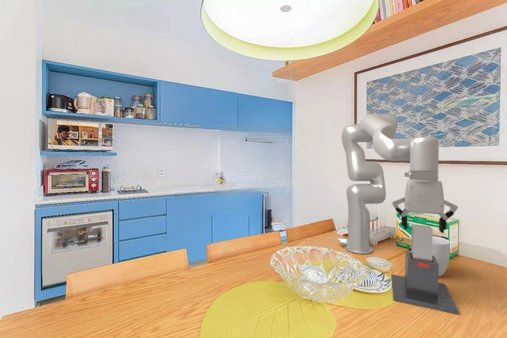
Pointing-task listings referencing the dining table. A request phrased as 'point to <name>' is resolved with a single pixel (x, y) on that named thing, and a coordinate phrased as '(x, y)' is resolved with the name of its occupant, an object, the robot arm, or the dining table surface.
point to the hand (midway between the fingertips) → (422, 230)
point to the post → (421, 243)
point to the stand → (422, 286)
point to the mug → (441, 253)
